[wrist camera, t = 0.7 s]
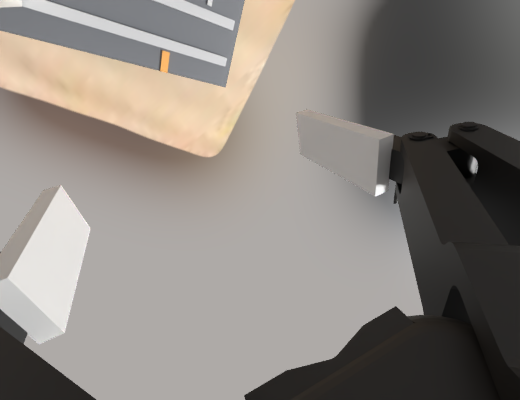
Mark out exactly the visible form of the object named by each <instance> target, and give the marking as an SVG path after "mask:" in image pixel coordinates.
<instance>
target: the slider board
mask: <svg viewBox="0 0 520 400" xmlns="http://www.w3.org/2000/svg"><path fill="white" fill-rule="evenodd" d="M21 1H22V7H1V8H0V30H1V31H5V32H9V33H13V34H17V35H21V36H25V37H29V38H33V39H36V40H40V41H44V42H48V43H52V44H56V45H60V46H64V47H68V48H72V49H76V50H80V51H84V52H88V53H92V54H96V55H100V56H104V57H108V58H112V59H116V60H120V61H123V62H127V63H131V64H135V65H139V66H143V67H147V68H151V69H155V70H159V71H162V72H166V73H171V74H175V75H179V76H183V77H187V78H191V79H195V80H199V81H203V82H207V83H210V84H214V85H218V86H222V87H226V83H227V78H228V74H229V69H230V64H231V60H232V55H233V51H234V46H235V42H236V37H237V33H238V28H239V23H240V19H241V14H242V10H243V5H244V1H245V0H21Z"/></svg>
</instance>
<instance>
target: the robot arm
mask: <svg viewBox="0 0 520 400" xmlns="http://www.w3.org/2000/svg"><path fill="white" fill-rule="evenodd" d="M296 116H297V126H298V136H299V145H300V154H301V155H303V156H304V157H306V158H308V159H310V160H312V161H313V162H315V163H317V164H319V165H321V166H322V167H324V168H326V169H327V170H329V171H331V172H333V173H334V174H336V175H338V176H340V177H341V178H344V179H345V180H347V181H349V182H350V183H352V184H354V185H356V186H357V187H359V188H361V189H363V190H365V191H367V192H368V193H370V194H372V195H373V196H378V195H380V194H382V193H384V192H387V191H388V186H389V179H391V180H393V181H396V188H395V196H394V204H395V203H397V201H398V204H399V208H400V212H401V217H402V220H403V225H404V229H405V233H406V238H407V242H408V247H409V251H410V255H411V259H412V264H413V268H414V272H415V276H416V281H417V285H418V289H419V293H420V298H421V302H422V306H423V312H424V315H416V316H408V317H407V316H406V315H405V314H403V313H402V312H401V311H400V310H399V309H398V308H397V307H394V308H392V309H390V310H389V311H387V312H385V313H384V314H382V315H380V316H379V317H377V318H375V319H373V320H372V321H370V322H368V323H367V324H365V325H363V326H362V328H361V329H360V330H359V331H358V332H357V333H356V334H355V336H354V337H353V338H352V339H351V340H350V341H349V342H348V343H347V345H346V346H345V347H344V348H343V349H342V350H341V351H340V353H339V354H338V355H337V356H336V357H334V358H333V359H330V360H326V361H322V362H318V363H314V364H311V365H307V366H303V367H299V368H295V369H291V370H287V371H285V372H284V373H282V374H280V375H278V376H277V377H275V378H273V379H271V380H270V381H268V382H266V383H265V384H263V385H261V386H260V387H258V388H256V389H254V390H253V391H251V392H249V393H248V394H246V395H245V396H244V397H245V400H520V141H518V140H516V139H514V138H512V137H510V136H507V135H505V134H503V133H501V132H498V131H496V130H494V129H492V128H490V127H488V126H485V125H482V124H477V123H474V122H464V123H458V124H454V125H452V126H450V128H449V133H448V137H443V138H437V137H436V136H435V135H434V134H431V133H425V132H413V133H408V134H405V135H403V136H402V137H399V136H396V135H394V134H391V133H388V132H385V131H381V130H378V129H374V128H371V127H367V126H364V125H360V124H356V123H353V122H350V121H346V120H342V119H339V118H335V117H332V116H328V115H325V114H322V113H317V112H314V111H311V110H303V111H300V112H297V113H296ZM477 165H478V171H477V174H476V173H475V171H476V168H477ZM90 229H91V228H90V227H89V225H88V224H87V223H86V221H85V220H84V218H83V217H82V215H81V214H80V212H79V211H78V209H77V208H76V206H75V205H74V203H73V202H72V200H71V199H70V197H69V196H68V194H67V193H66V191H65V190H64V189H63V187H62V186H61V185H59V186H56V187H52V188H49V189H46V190H43V192H42V193H41V195H40V196H39V198H38V199H37V200H36V202H35V203H34V205H33V206H32V208H31V209H30V211H29V212H28V213H27V215H26V217H25V218H24V219H23V221H22V222H21V224H20V225H19V227H18V228H17V230H16V231H15V232H14V234H13V235H12V237H11V238H10V240H9V241H8V243H7V244H6V246H5V247H4V249H3V250H2V251H1V252H0V400H96V399H95V398H93V397H92V396H91V395H89V394H88V393H87V392H86V391H84V390H83V389H81V388H80V387H79V386H78V385H76V384H75V383H73V382H72V381H71V380H70V379H68V378H67V377H66V376H64V375H63V374H62V373H61V372H59V371H58V370H57V369H55V368H54V367H53V366H51V365H50V364H48V363H47V362H46V361H45V360H43V359H42V358H41V357H40V356H38V355H37V354H36V353H34V352H33V351H32V350H30V349H29V348H28V347H26V346H25V345H24V341H25V338H26V336H27V335H29V336H30V337H31V338H32V339H33V340H35V341H36V342H37V343H38V344H41V343H43V342H45V341H47V340H50V339H52V338H54V337H57V336H59V335H61V334H63V333H65V329H66V325H67V321H68V317H69V313H70V309H71V305H72V301H73V297H74V293H75V289H76V285H77V281H78V277H79V273H80V269H81V265H82V261H83V257H84V253H85V249H86V245H87V241H88V237H89V233H90Z"/></svg>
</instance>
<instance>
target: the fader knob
mask: <svg viewBox="0 0 520 400" xmlns="http://www.w3.org/2000/svg"><path fill="white" fill-rule="evenodd" d="M1 7H22V1H21V0H0V8H1Z"/></svg>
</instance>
